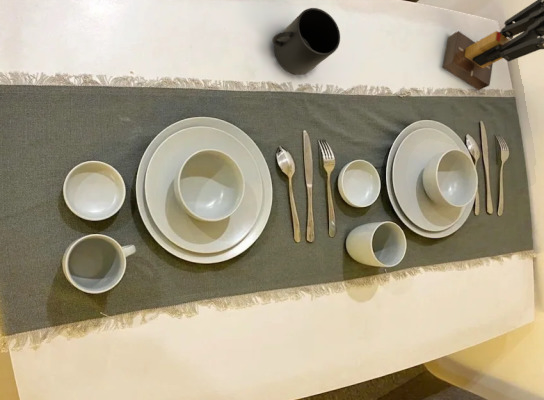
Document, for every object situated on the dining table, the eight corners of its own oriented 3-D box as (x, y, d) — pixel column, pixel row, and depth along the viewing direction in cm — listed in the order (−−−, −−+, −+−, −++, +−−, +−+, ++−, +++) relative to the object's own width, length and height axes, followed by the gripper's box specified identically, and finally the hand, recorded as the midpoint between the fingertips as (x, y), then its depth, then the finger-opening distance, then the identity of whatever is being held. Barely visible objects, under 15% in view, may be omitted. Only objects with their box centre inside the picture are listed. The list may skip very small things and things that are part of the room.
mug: (260, 27, 94) (282, 1, 86) (311, 34, 98) (337, 11, 90) (264, 71, 92) (287, 50, 84) (316, 77, 97) (343, 57, 89)
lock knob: (483, 59, 114) (516, 43, 106) (482, 68, 113) (515, 52, 105) (465, 47, 112) (497, 30, 104) (464, 56, 111) (495, 39, 104)
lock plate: (483, 58, 118) (495, 52, 116) (478, 92, 115) (489, 87, 112) (448, 35, 115) (459, 28, 112) (441, 69, 112) (452, 63, 109)
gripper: (574, -41, 91) (470, 22, 113) (568, 23, 87) (461, 76, 108) (599, -21, 94) (492, 37, 115) (594, 42, 89) (484, 91, 110)
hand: (477, 56), depth 111 cm, fingers closed on lock knob, 2 cm apart
